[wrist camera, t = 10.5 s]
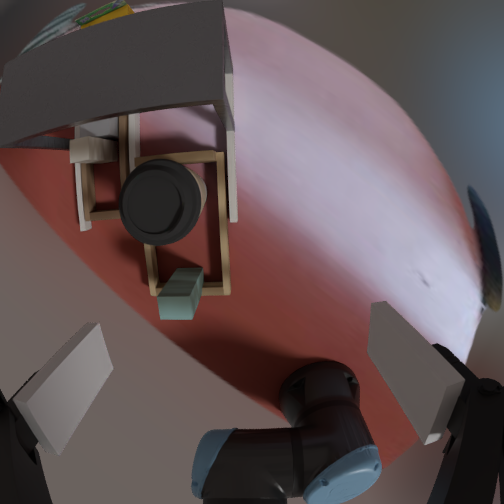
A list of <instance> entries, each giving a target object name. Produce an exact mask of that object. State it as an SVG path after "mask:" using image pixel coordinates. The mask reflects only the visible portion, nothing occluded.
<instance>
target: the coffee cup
mask: <svg viewBox="0 0 504 504" xmlns="http://www.w3.org/2000/svg"><path fill="white" fill-rule="evenodd" d="M206 198H207V188H206V185H205V183H204V181H203V179H202V178H201V177H200V176H199V175H198V174H196V173H195V172H194V171H192V170H190V169H188V168H186V167H184V166H183V165H181V164H179V163H178V162H175V161H172V160H169V159H153V160H149V161H146V162H144V163H142V164H140V165H139V166H137V167H136V168H135V169H134V170H133V171H132V172H131V173H130V174H129V175H128V177H127V178H126V180H125V182H124V184H123V186H122V189H121V192H120V196H119V213H120V217H121V220H122V222H123V225H124V226H125V228H126V230H127V231H128V232H129V233H130V234H131V235H132V236H133V237H134V238H135V239H137V240H138V241H140V242H142V243H144V244H148V245H153V246H161V245H166V244H171V243H174V242H177V241H179V240H180V239H182V238H184V237H185V236H186V235H187V234H188V233H189V232H190V231H191V230H192V229H193V227H194V226H195V224H196V222H197V220H198V218H199V216H200V214H201V211H202V209H203V207H204V204H205V202H206Z"/></svg>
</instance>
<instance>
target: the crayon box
mask: <svg viewBox="0 0 504 504" xmlns="http://www.w3.org/2000/svg"><path fill="white" fill-rule="evenodd" d="M107 7H111V8H110V9H108V10H106V11H104V12H103V13H101V14H97V15H95V16H93V17H90V16H91V15H92V14H94V13H96V12H97V11H99V10H102V9H105V8H107ZM129 14H134V12H133V10H132V9H131V8H130V7H129V5H128V4H126V2H125V1H124V0H115V1H113V2H111V3H109V4H107V5H104V6H102V7H100V8H98V9H96V10H94V11H92V12H90V13H88V14H86V15H85V16H83V17H81V18H79V19H77V20H75V22H77V23H78V24H79V25H81V29H83V28H86V27H89V26H92V25H95V24H98V23H101V22H104V21H108V20H111V19H114V18H118V17H122V16H126V15H129Z"/></svg>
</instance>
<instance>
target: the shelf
mask: <svg viewBox="0 0 504 504" xmlns="http://www.w3.org/2000/svg"><path fill="white" fill-rule="evenodd" d="M224 71H225V74H230V73H232V74H233V66H232V59H231V53H230V46H229V40H228V33H227V27H226V20H225V14H224V7H223V1H222V0H213V1H202V2H194V3H186V4H179V5H173V6H167V7H162V8H156V9H151V10H147V11H142V12H138V13H134V14H129V15H126V16H122V17H118V18H114V19H111V20H108V21H104V22H101V23H98V24H95V25H92V26H89V27H86V28H83V29H80V30H77V31H75V32H72V33H69V34H67V35H64V36H62V37H59V38H57V39H55V40H52V41H50V42H48V43H45V44H43V45H41V46H39V47H37V48H34V49H32V50H30V51H28V52H26V53H24V54H22V55H20V56H18V57H17V58H15V59H13V60H11V61H9V62H7V63H6V64H5V66H4V72H3V78H2V84H1V92H0V148H29V149H51V150H67V151H70V140H73V139H65V138H58V137H49V136H42V135H45V134H49V133H52V132H56V131H59V130H63V129H66V128H70V127H74V126H78V125H82V124H86V123H91V122H95V121H100V120H104V119H109V118H114V117H119V116H125V115H130V114H136V113H142V112H148V111H155V110H162V109H170V108H178V107H188V106H198V105H210V104H213V106H214V108H215V110H216V112H217V113H218V115H219V117H220V119H221V121H222V123H223V125H224V127H225V129H226V131H234V132H235V126H234V119H233V116H232V112H231V108H230V105H229V101H228V98H227V94H226V91H225V86H224Z"/></svg>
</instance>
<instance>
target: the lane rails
mask: <svg viewBox="0 0 504 504" xmlns="http://www.w3.org/2000/svg"><path fill="white" fill-rule="evenodd" d="M232 66H233V63H232ZM225 91H226V94H227V98H228V101H229V105H230V108H231V112H232V116H233V119H234V92H233V74H232V73H230V74H225ZM77 138H80V125H78V126H75V139H77ZM136 157H140V113H136V114H130V115H129V166H130V173H131V172H132V171H133V170H134V169H135V168H136V167H135V164H134V158H136ZM227 160H228V187H229V210H230V222H238V211H237V185H236V157H235V132H234V131H227ZM75 172H76V189H77V201H78V212H79V221H80V230H81V231H86V230H89V229H91V228H92V227H91V221H85V213H84V202H83V190H82V173H81V163H75Z"/></svg>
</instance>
